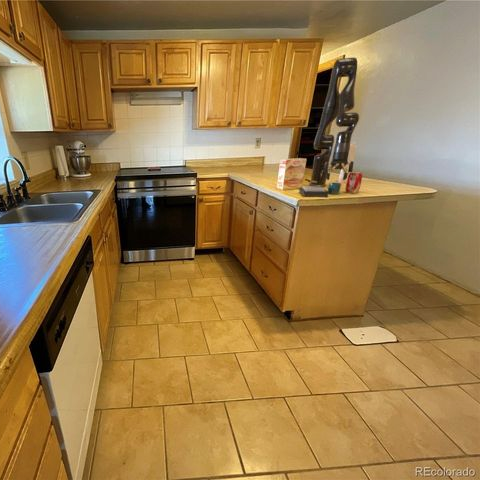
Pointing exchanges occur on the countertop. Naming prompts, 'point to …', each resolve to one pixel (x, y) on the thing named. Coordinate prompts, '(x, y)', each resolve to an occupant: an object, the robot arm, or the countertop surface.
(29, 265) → the countertop surface
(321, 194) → the scale
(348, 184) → the soda can
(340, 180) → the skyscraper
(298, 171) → the coffeecake box
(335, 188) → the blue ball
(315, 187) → the scale pan
